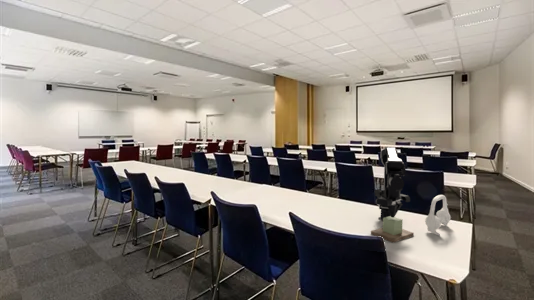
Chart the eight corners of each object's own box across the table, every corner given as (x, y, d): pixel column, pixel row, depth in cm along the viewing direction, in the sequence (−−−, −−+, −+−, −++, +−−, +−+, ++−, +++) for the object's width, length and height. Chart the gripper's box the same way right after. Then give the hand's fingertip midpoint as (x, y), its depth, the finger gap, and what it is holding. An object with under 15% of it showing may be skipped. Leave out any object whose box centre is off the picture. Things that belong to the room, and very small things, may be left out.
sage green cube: (390, 228, 134) (390, 215, 133) (402, 232, 129) (402, 219, 128) (382, 230, 131) (383, 217, 130) (394, 235, 125) (394, 221, 125)
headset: (437, 223, 147) (438, 191, 146) (452, 226, 141) (454, 193, 140) (423, 231, 134) (424, 197, 133) (439, 236, 129) (440, 200, 127)
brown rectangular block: (391, 228, 139) (391, 215, 139) (413, 235, 129) (414, 222, 128) (370, 233, 131) (371, 220, 131) (392, 242, 121) (393, 228, 120)
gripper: (391, 181, 140) (389, 210, 141) (367, 184, 130) (366, 215, 131) (411, 184, 130) (410, 216, 131) (387, 188, 121) (386, 222, 122)
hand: (392, 217), depth 129 cm, fingers closed
